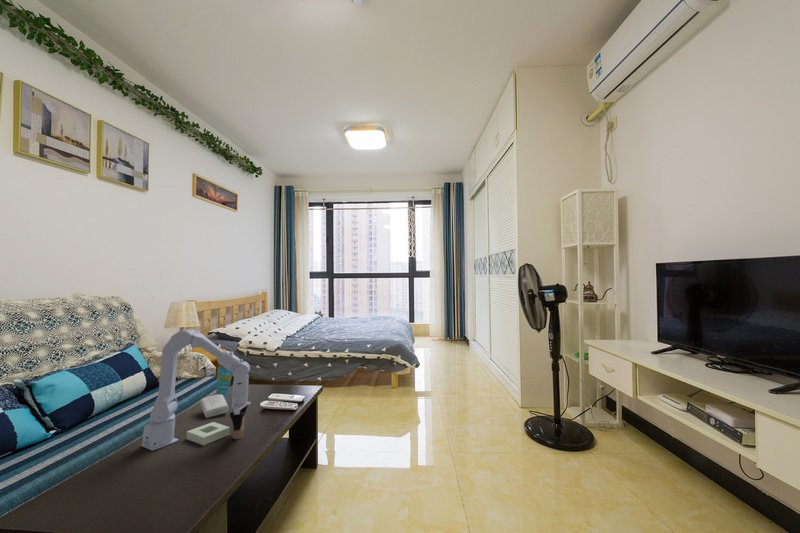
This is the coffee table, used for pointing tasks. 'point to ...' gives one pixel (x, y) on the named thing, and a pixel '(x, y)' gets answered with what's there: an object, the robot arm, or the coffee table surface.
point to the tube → (223, 381)
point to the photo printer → (214, 405)
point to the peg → (239, 431)
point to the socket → (208, 433)
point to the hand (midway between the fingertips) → (238, 426)
